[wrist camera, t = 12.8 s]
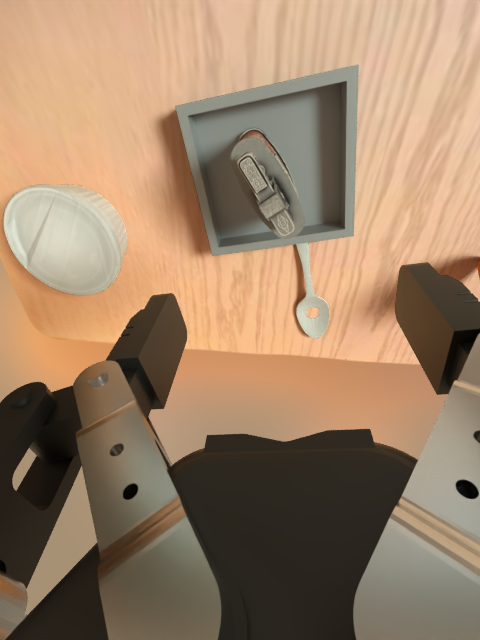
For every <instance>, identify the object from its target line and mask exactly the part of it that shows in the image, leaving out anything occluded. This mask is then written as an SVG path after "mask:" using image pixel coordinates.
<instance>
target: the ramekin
mask: <svg viewBox="0 0 480 640" xmlns="http://www.w3.org/2000/svg"><path fill="white" fill-rule="evenodd" d="M3 224H4V232H5V236H6V239H7V242H8V244H9V246H10V248H11V250H12V252H13V253H14V255H15V257H16V258H17V259H18V261H19V262H20V263H21V264H22V266H23V267H24V268H25V269H26V270H27V271H28V272H29V273H31V274H32V275H33V276H34V277H35V278H37V279H38V280H39V281H41V282H43V283H44V284H46V285H47V286H49V287H51V288H54V289H56V290H58V291H61V292H64V293H68V294H74V295H92V294H96V293H99V292H102V291H104V290H105V289H107V288H108V287H109V286H110V285H111V284H112V283H113V282H114V281H115V280H116V278H117V276H118V275H119V272H120V270H121V265H122V261H123V259H124V256H125V254H126V250H127V243H128V241H127V232H126V229H125V225H124V223H123V221H122V219H121V217H120V215H119V213H118V212H117V211H116V209H115V208H114V207H113V206H112V205H111V204H110V203H109V202H108V201H107V200H106V199H105V198H104V197H102V196H101V195H99V194H98V193H96V192H94V191H93V190H90V189H88V188H86V187H82V186H79V185H69V184H64V185H49V184H40V185H34V186H30V187H27V188H24V189H22V190H20V191H19V192H17V193H16V194H15V195H13V196H12V198H11V199H10V200H9V202H8V204H7V205H6V208H5V211H4V218H3Z"/></svg>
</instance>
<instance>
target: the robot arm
mask: <svg viewBox="0 0 480 640" xmlns="http://www.w3.org/2000/svg"><path fill="white" fill-rule="evenodd" d="M395 313H396V318H397V321H398V323H399V325H400V327H401V329H402V331H403V333H404V334H405V336H406V338H407V340H408V342H409V344H410V346H411V347H412V349H413V351H414V353H415V355H416V357H417V358H418V360H419V362H420V364H421V366H422V368H423V370H424V371H425V373H426V375H427V377H428V379H429V381H430V382H431V384H432V386H433V388H434V390H435V392H436V394H437V395H438V394H448V396H447V398H446V400H445V403H444V405H443V407H442V409H441V411H440V414H439V416H438V418H437V420H436V423H435V424H434V427H433V429H432V431H431V433H430V435H429V438H428V440H427V442H426V444H425V447H424V449H423V451H422V453H421V455H420V457H419V460H417V459H415V458H414V457H412V456H410V455H408V454H407V453H404V452H403V451H400V450H398V449H395V448H393V447H390V446H387V445H384V444H380V443H375V442H374V441H373V437H372V435H371V431H370V429H357V430H329V431H324V432H320V433H317V434H313V435H310V436H306V437H302V438H299V439H295V440H292V441H287V442H282V441H276V440H272V439H267V438H262V437H257V436H252V435H248V434H227V435H207V438H206V443H205V448H203V449H200V450H198V451H195V452H193V453H191V454H189V455H187V456H185V457H183V458H182V459H180V460H179V461H177V462H176V463H174V464H173V465H172V463H171V461H170V459H169V457H168V456H167V453H166V451H165V449H164V447H163V445H162V443H161V441H160V439H159V437H158V435H157V433H156V431H155V429H154V427H153V425H152V422H151V421H150V419H149V417H148V416H149V413H150V411H151V409H164V407H165V404H166V401H167V398H168V395H169V392H170V389H171V386H172V383H173V380H174V377H175V374H176V371H177V368H178V365H179V362H180V359H181V356H182V353H183V350H184V347H185V344H186V341H187V329H186V325H185V322H184V319H183V317H182V314H181V311H180V308H179V306H178V303H177V300H176V297H175V296H174V294H172V293H169V294H161V295H153V296H152V297H151V298H150V300H149V302H148V303H147V305H146V307H145V309H143V310H140V311H139V312H138V313H137V314H136V315H134V316H133V317H132V318H131V319H130V321H129V323H128V324H127V326H126V329H124V331H123V333H122V334H121V337H119V339H118V341H117V342H116V344H115V346H114V347H113V349H112V351H111V352H110V354H109V356H108V357H107V359H106V360H105V361H102V362H99V363H96V364H94V365H92V366H90V367H88V368H87V369H85V370H84V371H83V372H82V373H80V375H79V376H78V377H77V378H76V380H75V382H74V385H73V386H70V387H67V388H63V389H60V390H57V391H54V392H51V391H50V390H49V389H48V388H47V386H46V385H45V384H44V383H41V382H33V383H29V384H26V385H24V386H21V387H20V388H18V389H16V390H14V391H13V392H11V393H10V394H9V395H7V396H6V397H5V398H4V399H3V400H2V401H1V403H0V640H480V302H478V299H477V298H476V297H475V296H474V295H473V294H471V293H470V291H469V290H468V289H467V288H466V287H465V286H464V285H463V283H462V282H460V281H458V280H455V279H453V278H451V277H449V276H447V275H443V276H440V275H439V274H438V273H437V272H436V271H435V270H434V268H433V267H432V266H431V265H430V264H429V263H427V262H426V263H418V264H409V265H402V266H401V268H400V271H399V277H398V285H397V294H396V302H395ZM28 448H30V449H31V450H32V451H33V452H34V453H35V454H36V455H37V457H36V458H35V460H34V462H33V463H32V465H31V467H30V469H29V470H28V472H27V474H26V475H25V477H24V479H23V481H22V482H21V484H20V486H19V487H18V489H17V491H15V490H14V488H13V485H12V478H13V474H14V471H15V470H16V468H17V466H18V465H19V463H20V461H21V460H22V458H23V457H24V455H25V453H26V452H27V450H28ZM81 466H82V469H83V474H84V479H85V484H86V489H87V494H88V499H89V503H90V508H91V513H92V518H93V523H94V528H95V533H96V538H97V543H96V544H95V545H94V546H93V547H92V549H91V550H90V551H89V552H88V553H87V554H86V555H85V556H84V557H83V558H82V559H81V560H80V561H79V562H78V563H77V564H76V565H75V566H74V567H73V568H72V569H71V570H70V572H69V573H68V574H67V575H66V576H65V577H64V578H63V579H62V580H61V581H60V582H59V583H58V584H57V585H56V586H55V587H54V588H53V589H52V590H51V591H50V592H49V594H47V596H46V597H45V598H44V599H43V600H42V601H41V602H40V603H39V604H38V605H37V606H36V607H35V608H34V609H33V610H32V611H31V612H30V613H29V614H28V615H27V614H25V611H26V606H27V598H28V597H27V591H26V588H27V586H28V584H29V582H30V580H31V577H32V575H33V573H34V571H35V569H36V566H37V564H38V562H39V560H40V557H41V555H42V553H43V551H44V549H45V546H46V544H47V542H48V540H49V537H50V535H51V533H52V531H53V528H54V526H55V524H56V522H57V519H58V517H59V515H60V513H61V510H62V508H63V506H64V504H65V501H66V499H67V497H68V495H69V492H70V490H71V488H72V486H73V483H74V481H75V479H76V477H77V475H78V472H79V470H80V468H81Z"/></svg>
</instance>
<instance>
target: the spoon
mask: <svg viewBox="0 0 480 640" xmlns="http://www.w3.org/2000/svg"><path fill="white" fill-rule="evenodd" d="M296 246H297V249H298V253H299V256H300V259H301V263H302V268H303V272H304V277H305V284H306V296H305V297H304V298H303V299H302V300H301V301H300V302H299V303H298V305H297V307H296V316H297V320H298V322H299V324H300V326H301V328H302V329H303V331H304V332H305V333H306V334H307V335H309V336H310V337H312V338H315V339H318V338H319V337H321V336H322V335H323V334H324V333H325V331H326V329H327V327H328V324H329V318H330V308H329V305H328V302H327V301H325V300H324V299H323V298H321V297H319V296H317V295H315V293H314V290H313V286H312V280H311V273H310V264H309V243H301V244H296ZM311 307H316V308H318V309H319V316H318V317H316V318H309V317H308V316H307V314H306V310H307V309H308V308H311Z"/></svg>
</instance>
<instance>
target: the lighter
mask: <svg viewBox="0 0 480 640" xmlns="http://www.w3.org/2000/svg"><path fill="white" fill-rule="evenodd" d="M230 160H231V165H232V168H233V170H234V173H235V175H236V177H237V180H238V182H239V185H240V187H241V189H242V191H243V192H244V194H245V196H246V198H247V200H248V201H249V203H250V205H251V206H252V208H253V209H254V210H255V212H256V213H257V214H258V216H259V217H260V218H261V220H262V221H263V222H264V223H265V224H266V225H267V226H268V227H269V229H270V230H271V231H272V232H273V233H274V234H275V235H276V236H278V237H279V238H283V239H290V238H293V237H295V236H297V235H298V234H299V233H300V232H301V231H302V229H303V228H304V225H305V217H304V214H303V211H302V207H301V204H300V201H299V198H298V193H297V190H296V187H295V184H294V180H293V177H292V175H291V173H290V171H289V168H288V166H287V164H286V162H285V160H284V159H283V157H282V155H281V154H280V152H279V151H278V149H277V148H276V146H275V145H274V144H273V142H272V141H271V140H270V139H269V138H268V136H267V135H266V134H265V133H264V132H263V131H262V130H261V129H260V128H255V127H254V128H249V129H248V130H246V131H245V132H244V133H243V134H242V135H241V137H240V139H239V141H238V143H237V144H236V145H235V146H234V148H233V150H232V153H231V159H230Z"/></svg>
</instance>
